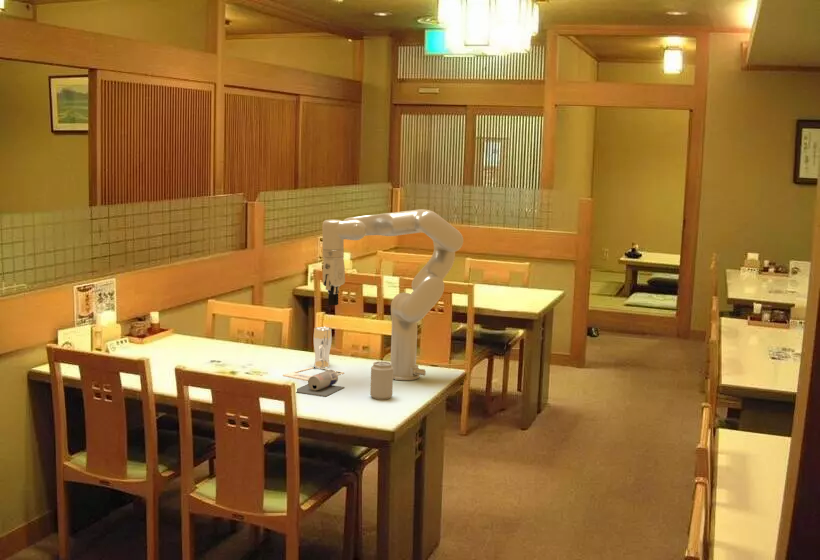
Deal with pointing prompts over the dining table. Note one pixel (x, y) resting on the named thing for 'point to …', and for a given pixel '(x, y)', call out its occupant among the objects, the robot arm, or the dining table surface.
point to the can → (381, 380)
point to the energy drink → (322, 380)
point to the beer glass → (322, 346)
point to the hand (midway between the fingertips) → (333, 304)
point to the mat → (321, 392)
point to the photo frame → (303, 377)
